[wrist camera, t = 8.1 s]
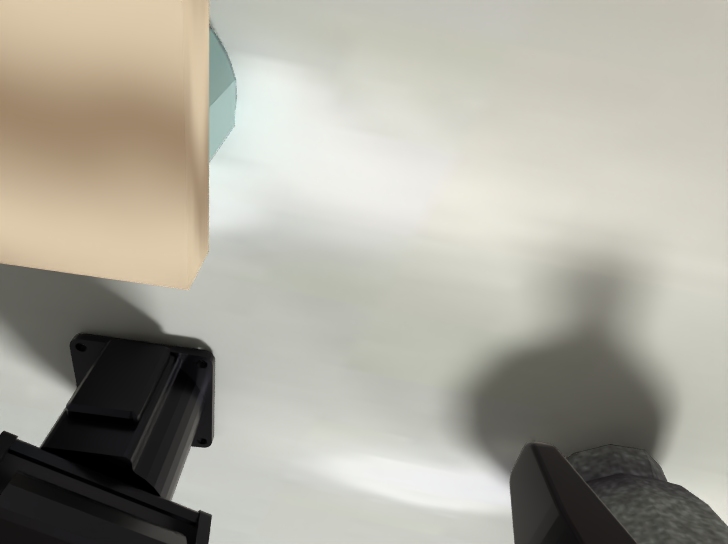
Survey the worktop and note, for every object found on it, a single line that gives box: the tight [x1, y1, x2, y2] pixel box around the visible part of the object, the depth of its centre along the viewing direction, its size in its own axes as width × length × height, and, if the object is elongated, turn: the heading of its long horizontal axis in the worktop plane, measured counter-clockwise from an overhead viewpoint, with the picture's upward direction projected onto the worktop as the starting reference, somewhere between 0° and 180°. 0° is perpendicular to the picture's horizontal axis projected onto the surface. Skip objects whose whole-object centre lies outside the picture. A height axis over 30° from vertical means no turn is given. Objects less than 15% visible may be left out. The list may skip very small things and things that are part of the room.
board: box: [0, 0, 209, 290], centre depth 14 cm, size 8×6×2 cm
